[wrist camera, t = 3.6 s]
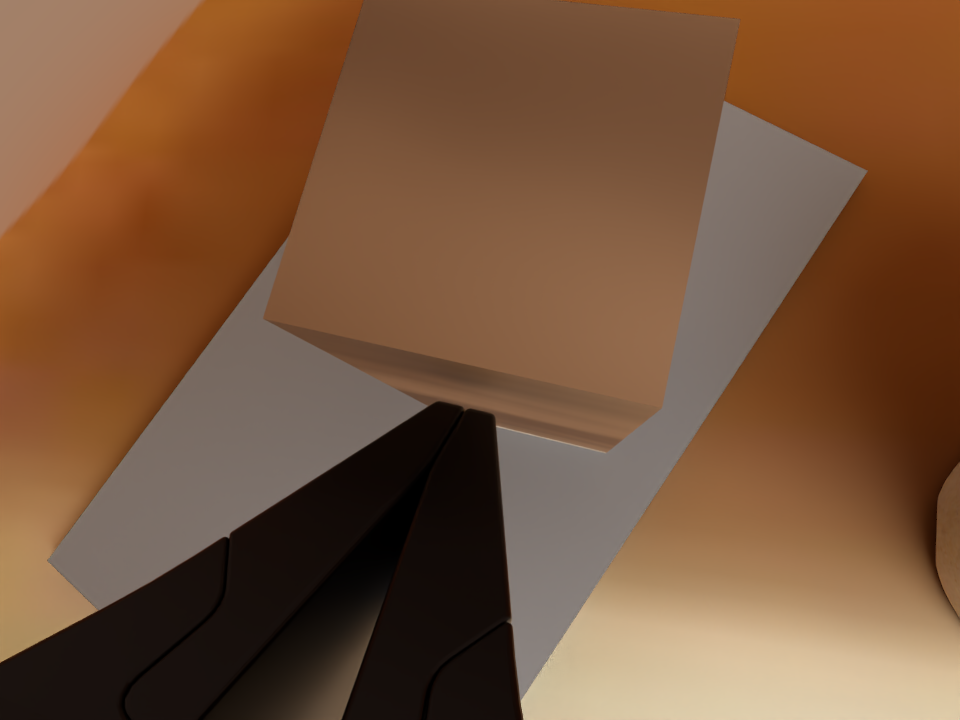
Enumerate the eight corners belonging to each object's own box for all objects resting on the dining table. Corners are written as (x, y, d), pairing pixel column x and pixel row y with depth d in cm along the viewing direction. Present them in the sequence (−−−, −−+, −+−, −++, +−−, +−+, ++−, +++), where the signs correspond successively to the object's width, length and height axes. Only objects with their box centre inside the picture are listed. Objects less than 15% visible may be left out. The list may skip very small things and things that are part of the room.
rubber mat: (397, 884, 15) (393, 895, 14) (58, 559, 18) (47, 560, 17) (860, 178, 17) (867, 170, 16) (480, -10, 20) (478, -19, 19)
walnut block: (605, 453, 16) (662, 408, 6) (443, 414, 17) (262, 318, 7) (640, 292, 16) (740, 18, 7) (482, 262, 17) (369, -19, 8)
